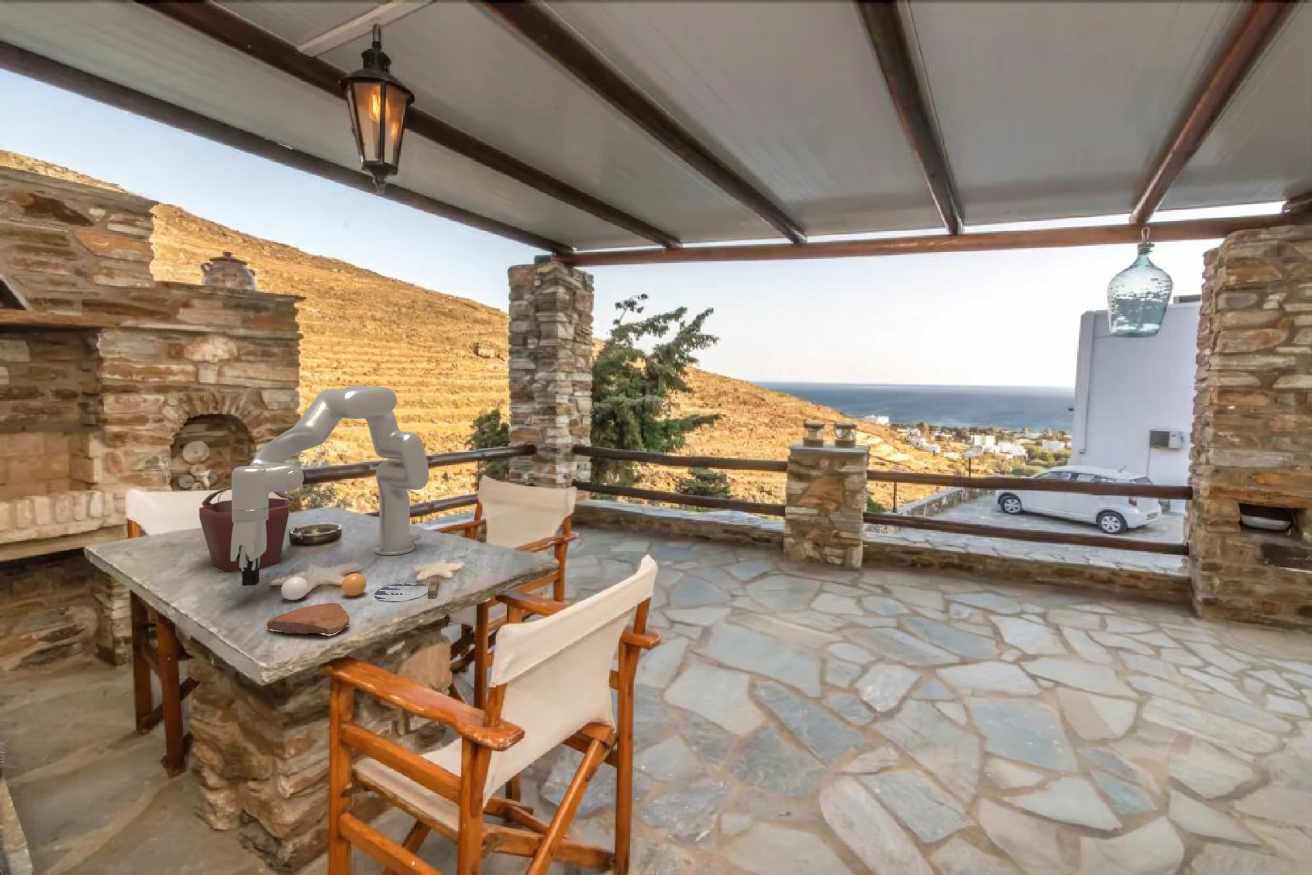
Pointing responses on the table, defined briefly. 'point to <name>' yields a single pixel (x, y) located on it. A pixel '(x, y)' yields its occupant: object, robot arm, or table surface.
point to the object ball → (354, 584)
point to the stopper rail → (433, 586)
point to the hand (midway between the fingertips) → (250, 584)
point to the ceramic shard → (312, 620)
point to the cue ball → (294, 588)
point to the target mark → (393, 589)
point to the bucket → (220, 529)
